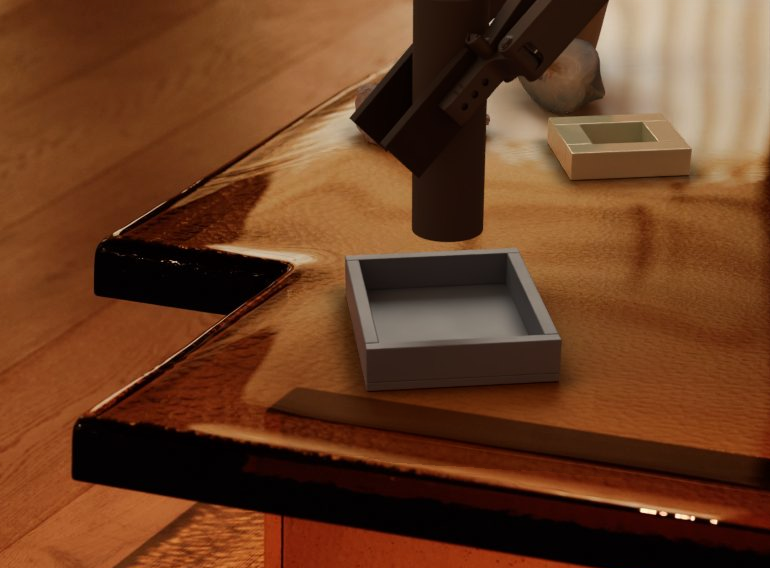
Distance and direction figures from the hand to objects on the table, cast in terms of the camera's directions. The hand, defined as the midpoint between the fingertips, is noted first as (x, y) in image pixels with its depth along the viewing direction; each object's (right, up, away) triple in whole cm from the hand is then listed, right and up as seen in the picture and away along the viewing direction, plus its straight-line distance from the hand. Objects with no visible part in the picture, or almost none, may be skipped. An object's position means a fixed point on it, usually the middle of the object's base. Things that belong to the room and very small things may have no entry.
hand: (384, 147), depth 86 cm
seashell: (+15, +14, +46) cm, 50 cm away
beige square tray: (+18, +7, +34) cm, 39 cm away
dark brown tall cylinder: (+4, -4, +4) cm, 6 cm away
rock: (+3, +10, +41) cm, 42 cm away
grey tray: (+4, -9, +7) cm, 12 cm away
